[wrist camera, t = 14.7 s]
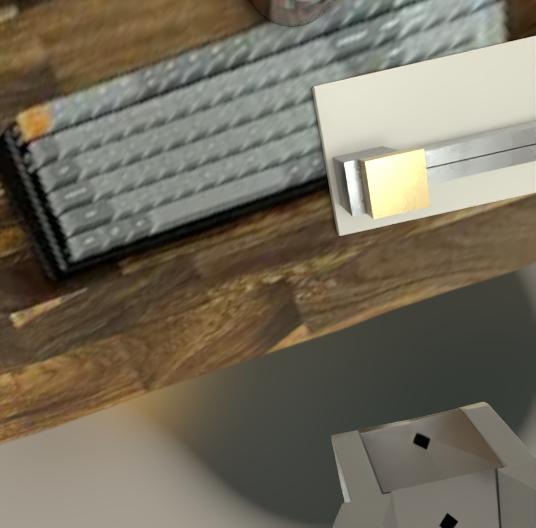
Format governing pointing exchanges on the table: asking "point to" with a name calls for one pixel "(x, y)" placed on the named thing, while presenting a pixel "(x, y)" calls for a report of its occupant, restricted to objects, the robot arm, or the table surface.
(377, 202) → the tab
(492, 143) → the tongs arm
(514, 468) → the robot arm
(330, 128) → the cutting board
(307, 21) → the soda can
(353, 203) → the tongs
